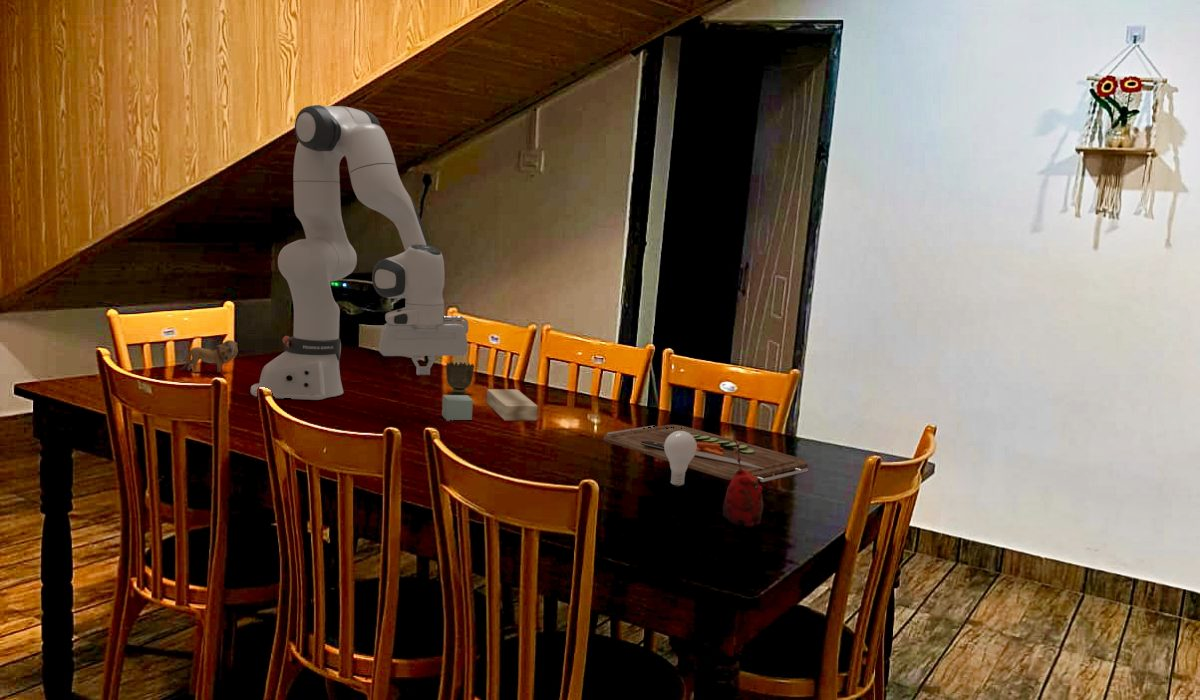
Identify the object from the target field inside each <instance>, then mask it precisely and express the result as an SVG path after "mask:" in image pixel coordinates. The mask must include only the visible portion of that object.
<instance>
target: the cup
mask: <svg viewBox="0 0 1200 700" xmlns="http://www.w3.org/2000/svg"><path fill="white" fill-rule="evenodd" d="M445 367H446V379H447V383H448V385H449V387H451V388H452V389H451V392H452V394H454V395H465V394H466V392H467V388H468V387H470V386H471V384H472V380H473V377H474V371H475V364H474V363H471V364H470V362H469V363H467V364H466V362H462V361H461V362H459V364H458V361H456V362H455V363H454V362H453V361H450V362H446V365H445Z"/></svg>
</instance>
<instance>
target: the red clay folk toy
mask: <svg viewBox="0 0 1200 700" xmlns="http://www.w3.org/2000/svg"><path fill="white" fill-rule="evenodd" d="M733 440H734V441H735V443H736V447H737V448H734V453H735V454H737V452H738V459H737V461H738V463H739V470H738V471H737V472H736V474H735V476H734V477H733V479H732V480H730V483H729V484H728V486H727V489H726V493H725V497H724V499H723V502H722V503H723V504H722V510H723V511H722V515H723V518H725V519H726V520H727V521H729V523H731V524H733V525H736V526H739V527H740V526H744V527H745V528H749V527H750V528H752V527H754V526H757V525H760V524H761V521H762V514H763V512H764V501H763V497H764V496H763V494H762V492H763V487H762V486H761V485H760V484H759V479H758V478H757V477H756V476H753V475H751V472H749V471H744V470H742V469H741V465H740V460H741V459H742V458H740V456H739V446H740V445H741V444H743V443H744V441H741V442H742V443H741V444H738V443H737V441H738V440H736V438H735V437H734V438H733ZM731 446H735V445H731Z"/></svg>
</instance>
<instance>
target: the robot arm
mask: <svg viewBox="0 0 1200 700" xmlns="http://www.w3.org/2000/svg"><path fill="white" fill-rule="evenodd" d="M294 132H295V136H296V139H297V141H298V143H297V144H296V148H295V153H294V159H293V173H292V174H293V177H292V178H293V208H294V209H293V211H294V213H295V217H296V218H297V219H298V220H299V222H300V223H301V225H302V228H303V231H304V235H305V238H303V239H302V238H300V239H297V240H295V241H293V242H290V243H287V244H286V245H285V246H283V247H282V249H281V250H280V252H279V254H278V256H277V267H278V270H279V273H281V275H282V277H283V278H284V279H285V280H286V281H287V284H288V287H289V290H290V294H291V299H292V304H293V335H292V336H289V335H285V336H284V337H282V339H281V340H282V343H283V344H284V352H282V353H281V354H279V355H277V357H275V358H273V359H272V360H271V361H269V362H267V363H266V364H265V365H264V366H263V368H262V370H261V373H260V378H259V383H254V384H253V385H251V387H250V394H251V395H252V396H254V397H256V398H258V397H257V389H258V387H265V388H268V389H270V390H271V391H272V393H273V396H274V397H275V398H274V399H284V398H291V399H292V400H310V401H319V400H324V399H327V398H332V397H337V396H341V395H343V394H344V389H343V384H342V380H341V374H340V360H341V354H342V353H341V350H342V342H341V338H340V316H341V315H340V314H341V309H340V306H339V304H338V303H337V302H336V301H335V298H334V296H333V292H332V288H331V287H332V286H331V282H335V281H340V280H342V279H344V278H346V277H347V276H349V275H351V274H352V273H353V272H354V271H355V269H356V268H357V263H358V257H357V253H356V250H355V249H354V247H353V245H352V244H351V243H350V241H349V239H348V236H347V232H346V230H345V225H344V222H343V217H342V206H341V184H340V182H341V181H340V179H341V177H340V163H341V160H342V159H343V158H344V157H345V159H346V162H347V168H348V169H347V170H348V173H349V178H350V184H351V187H352V189H353V192H354V194H355V196H356V198H357V200H358V201H359V202H360V203H362V204H363V205H364V206H365V207H366V208H367V207H368V208H369V209H371V210H373V211H376V212H377V213H380V214H381V215H383V216H385V218H387V219H389V220H390V221H391V222H393V224H394V226H395V227H396V228H397V231H398V234H399V237H400V240H401V243H402V246H403V249H404V251H403V252H401V253H399V254H396V255H394V256H390V257H387V258H383V259H380V260H379V261H377V263H376V264H375V266H374V267H373V270H372V275H371V280H372V285H373V288H374V289H375V291H376V293H377V294H378V295H379V296H380V297H382V298H386V299H405V300H404V301H405V302H404V303H405V306H404V307H402V308H399V309H398V308H397V309H395V310H391V311H389V312H386V313H385V315H384V318H385V321H386V323H384V324H383V325H382V327H381V331H380V336H379V345H378V351H379V353H380V355H382V356H383V357H411V361H412V362H413V364H414V366H415V367H416V368H415V369H416V372H415V373H416V375H417V376H430V375H431V368H432V366H433V364H434V363H435V361H436V357H437V356H438V357H439V356H440V357H443V356H445V357H446V356H447V357H448V356H449V357H453V356H454V357H457V356H459V357H460V356H463V357H464V356H466V354H467V353H468V339H467V338H468V337H467V334H468V332H469V326H470V325H469V321H468V319H466V317H465V318H464V317H463V316H462V315H456V316H455V315H454V316H453V315H445V314H444V312H445V302H444V301H445V300H444V297H443V291H444V288H445V281H446V280H445V276H446V275H445V271H446V270H445V261H444V256H443V254H442V251H441V250H439V249H438V248H437V247H435V246H431V245H430V243H429V239H428V237H427V235H426V231H425V228H424V225H423V223H422V220H421V216H420V214H419V211H418V209H417V206H416V204H415V202H414V199H413V198H412V197H411V196H410V194H409V193H408V192H407V190H406V188H405V186H404V184H403V182H402V180H401V178H400V175H399V172H398V168H397V163H396V159H395V156H394V152H393V149H392V146H391V144H390V141H389V138H388V136H387V134H386V132H385V130H384V129H383V127H382V126H381V124H380V121H379V119H378V117H376V115H374V114H373V113H372V112H369V111H368V110H364V109H361V108H355V107H354V108H353V107H351V106H350V107H348V106H343V105H337V106H336V105H335V106H333V105H324V106H323V105H320V104H317V105H316V104H315V105H309V106H305V107H303V108H302V109H300V110H299V112H298V113H297V115H296V118H295V120H294ZM420 357H427V360H428V362H427V364H426V366H421V365H420V364H419V362H418V361H420ZM291 399H290V400H291Z"/></svg>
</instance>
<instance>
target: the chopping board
mask: <svg viewBox="0 0 1200 700" xmlns="http://www.w3.org/2000/svg"><path fill="white" fill-rule="evenodd" d="M653 426H654V425H649V426H642V427H636V428H635V427H634V428H629V429H622V430H616V431H610V432H606V434H604V435H603V441H604V442H605V441H606V442H605V443H609V444H611V445H614V444H615V445H614V446H617V445H618V447H620V446H622V447H621V448H624V449H627V448H628V450H630V449H631V450H630V451H633V450H634V452H636V451H637V453H640V454H644V455H646V454H647V456H649V455H650V456H649V457H652V456H653V458H657V459H659V460H663V461H666V462H668V463H670V462H669V460H668V458H667V456H666V454H665V451H664V444H665V440H666V439H667V437H668V436H669V435H670V434H671V433H673V432H675V431H685V432H688V433H690V434H691V435H692V436H693V437H694V439H695V441H696V444H697V451H696V454H695V456H694V457H693V459H692V460H691V461H690V463H689V464H688V467H687V469H691V470H694V471H698V472H701V473H704V474H707V475H711V476H714V477H717V478H721V479H722V480H723V479H724V480H726V481H727V480H728V481H732V479H733V477H734V476H735V474H736V472H737V471H738V470H739V463H738V461H737V459H738V452H737V454H735V453H734V448H737V447H736V443H735V441H734V439H732V438H729V437H725V436H721V435H717V434H714V433H711V432H706V431H703V430H699V429H697V428H692V427H688V426H685V425H680V424H665V425H659V426H655V427H653ZM648 427H651V428H648ZM671 427H672V428H671ZM673 427H674V428H673ZM643 428H645V429H643ZM666 428H668V429H666ZM681 428H682V429H681ZM631 430H632V431H631ZM736 441H737V443H738V444H741V443H742V442H743V441H740V440H736ZM731 445H735V446H731ZM739 456H740V458H742V459H741V460H740V465H741V469H742V470H744V471H749V472H751V475H753V476H756V477H757V478H758V480H759V482H761V483H765V482H769V481H774V480H777V479H778V480H779V479H782V478H787V477H791V476H795V475H799V474H803V473H808V472H809V469H808V468H807V465H808V464H807V461H808V460H807V459H804V458H800V457H797V456H793V455H790V454H787V453H783V452H779V451H776V450H772V449H768V448H764V447H761V446H758V445H753V444H751V443H750V444H749V443H746V442H743V444H741V445H740V446H739ZM802 468H803V469H802ZM793 470H794V471H793Z"/></svg>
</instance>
